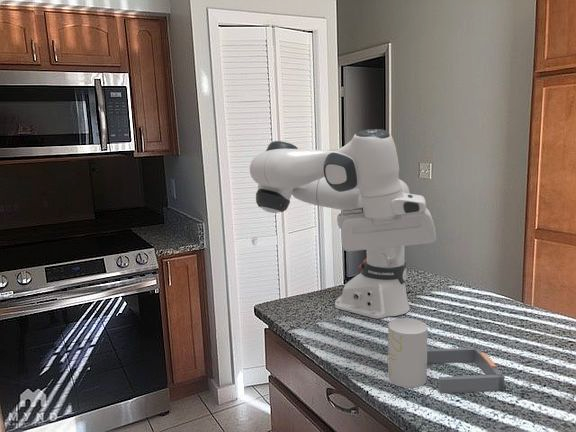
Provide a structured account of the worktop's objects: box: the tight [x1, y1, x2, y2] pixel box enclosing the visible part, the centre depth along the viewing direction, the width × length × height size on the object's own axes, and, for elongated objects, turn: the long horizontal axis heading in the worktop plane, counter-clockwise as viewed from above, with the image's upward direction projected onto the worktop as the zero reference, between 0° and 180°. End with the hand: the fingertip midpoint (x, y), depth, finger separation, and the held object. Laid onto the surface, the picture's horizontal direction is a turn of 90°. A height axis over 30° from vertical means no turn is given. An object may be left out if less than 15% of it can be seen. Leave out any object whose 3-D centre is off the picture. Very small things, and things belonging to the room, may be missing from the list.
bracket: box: [427, 347, 506, 394], centre depth 99 cm, size 13×13×4 cm
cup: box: [387, 317, 429, 389], centre depth 98 cm, size 8×8×12 cm
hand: (391, 265), depth 101 cm, fingers closed
